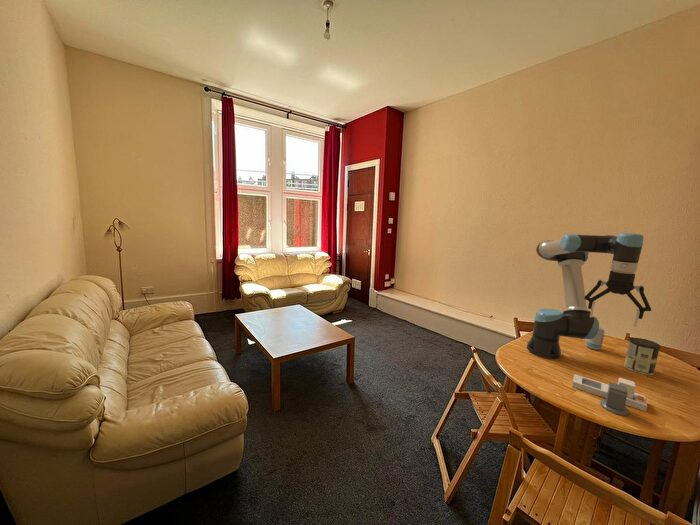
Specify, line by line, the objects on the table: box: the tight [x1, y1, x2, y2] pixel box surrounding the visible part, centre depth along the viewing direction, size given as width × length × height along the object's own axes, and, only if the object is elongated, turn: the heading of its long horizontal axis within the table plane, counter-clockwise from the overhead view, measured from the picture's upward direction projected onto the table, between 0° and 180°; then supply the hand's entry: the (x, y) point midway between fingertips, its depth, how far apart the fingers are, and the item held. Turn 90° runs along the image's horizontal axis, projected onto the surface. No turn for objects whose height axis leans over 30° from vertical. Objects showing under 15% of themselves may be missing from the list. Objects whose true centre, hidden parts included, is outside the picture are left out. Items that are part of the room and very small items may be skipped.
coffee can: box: [623, 337, 661, 376], centre depth 135 cm, size 10×10×14 cm
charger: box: [605, 381, 628, 412], centre depth 106 cm, size 5×5×8 cm
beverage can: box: [584, 326, 606, 351], centre depth 157 cm, size 7×7×12 cm
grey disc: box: [599, 398, 630, 417], centre depth 107 cm, size 8×8×1 cm
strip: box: [571, 373, 648, 412], centre depth 116 cm, size 22×9×3 cm, turn 49°
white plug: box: [617, 377, 636, 400], centre depth 112 cm, size 4×4×6 cm
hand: (612, 320), depth 118 cm, fingers open, 13 cm apart
